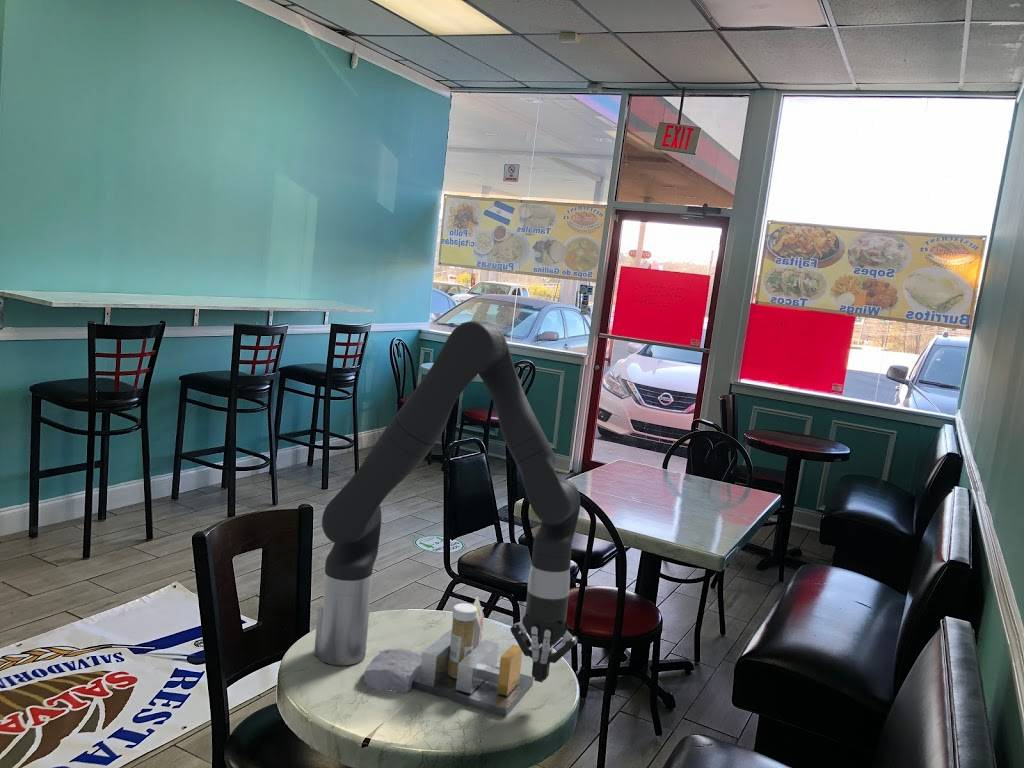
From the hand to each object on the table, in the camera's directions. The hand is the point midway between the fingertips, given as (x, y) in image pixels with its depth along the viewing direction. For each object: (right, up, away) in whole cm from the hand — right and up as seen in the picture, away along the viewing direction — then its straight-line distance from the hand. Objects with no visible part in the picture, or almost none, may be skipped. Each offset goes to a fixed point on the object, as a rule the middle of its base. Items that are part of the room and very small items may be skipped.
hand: (539, 679), depth 150 cm
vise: (-13, -3, +5) cm, 14 cm away
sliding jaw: (-9, -2, +4) cm, 10 cm away
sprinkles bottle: (-15, -1, +6) cm, 17 cm away
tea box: (-14, -1, +22) cm, 26 cm away
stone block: (-28, -2, +6) cm, 29 cm away
